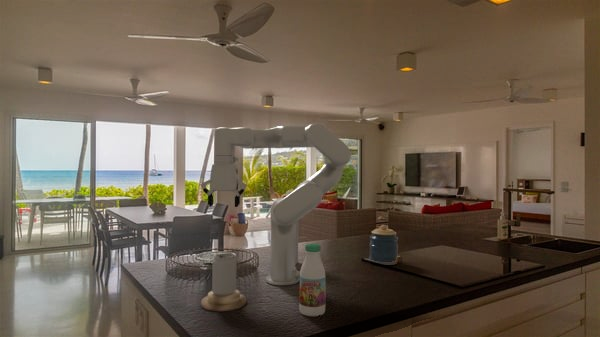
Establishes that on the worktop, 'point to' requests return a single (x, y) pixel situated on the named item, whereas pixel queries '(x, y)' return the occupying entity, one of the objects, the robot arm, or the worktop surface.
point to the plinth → (223, 302)
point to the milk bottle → (312, 283)
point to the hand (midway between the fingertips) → (223, 206)
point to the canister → (383, 245)
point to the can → (224, 275)
